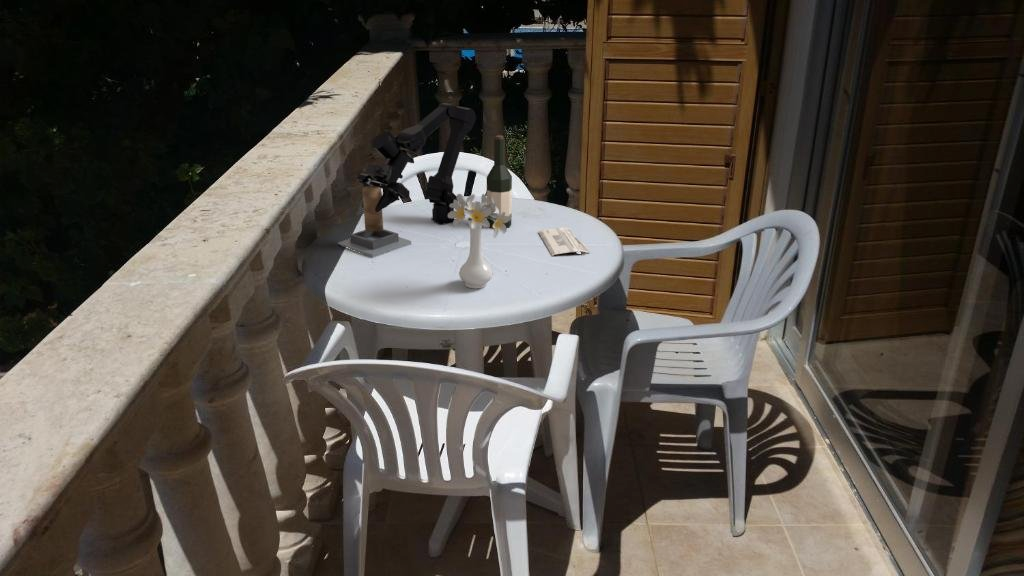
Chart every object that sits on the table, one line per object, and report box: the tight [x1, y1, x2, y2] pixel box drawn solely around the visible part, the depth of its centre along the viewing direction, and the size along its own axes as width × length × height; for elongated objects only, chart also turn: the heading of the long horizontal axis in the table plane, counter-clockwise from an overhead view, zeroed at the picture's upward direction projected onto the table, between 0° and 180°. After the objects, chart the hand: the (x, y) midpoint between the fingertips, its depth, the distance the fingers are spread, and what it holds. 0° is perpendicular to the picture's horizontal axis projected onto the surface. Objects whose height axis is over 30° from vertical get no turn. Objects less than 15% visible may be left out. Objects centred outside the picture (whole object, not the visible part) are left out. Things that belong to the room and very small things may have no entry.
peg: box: [362, 186, 384, 232], centre depth 249 cm, size 6×6×13 cm
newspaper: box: [538, 226, 591, 257], centre depth 256 cm, size 23×12×2 cm, turn 9°
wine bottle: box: [486, 134, 513, 230], centre depth 266 cm, size 8×8×30 cm
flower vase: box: [448, 193, 513, 290], centre depth 220 cm, size 13×18×25 cm
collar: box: [337, 228, 412, 258], centre depth 252 cm, size 16×16×4 cm
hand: (369, 209), depth 248 cm, fingers closed on peg, 5 cm apart
